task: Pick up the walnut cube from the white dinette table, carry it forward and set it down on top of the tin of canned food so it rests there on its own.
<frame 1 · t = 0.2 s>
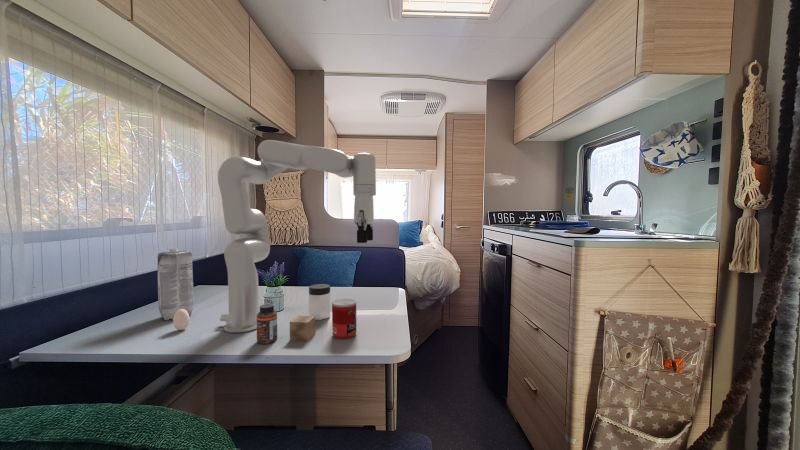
hand: (365, 241, 102), 31 cm above the table, tool pointing down, fingers open, 9 cm apart
supplement bottle: (267, 341, 95), on the table
egg: (181, 330, 105), on the table
walnut cube: (303, 337, 98), on the table
canned food: (344, 335, 99), on the table
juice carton: (176, 317, 119), on the table
jar: (319, 316, 118), on the table
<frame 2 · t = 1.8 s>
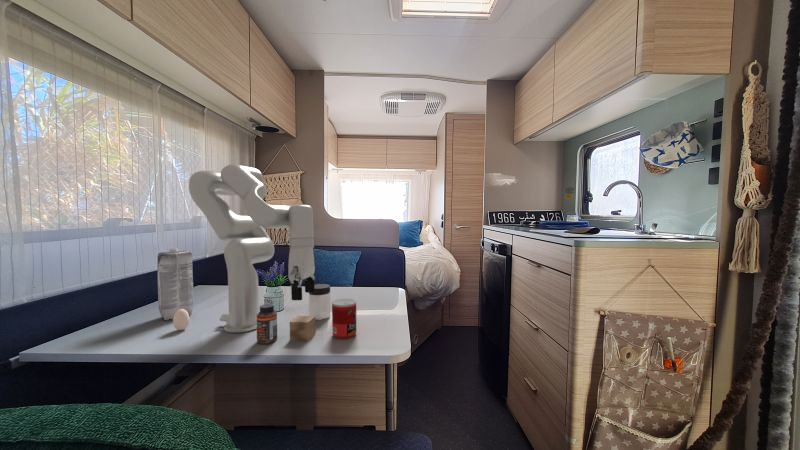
hand: (303, 295, 97), 13 cm above the table, tool pointing down, fingers open, 9 cm apart
nothing on the table moved.
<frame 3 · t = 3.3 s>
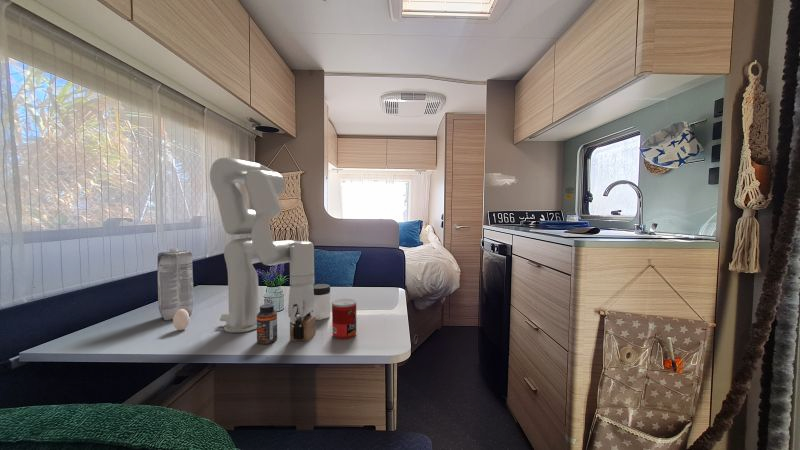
hand: (303, 334, 98), 1 cm above the table, tool pointing down, fingers closed on walnut cube, 6 cm apart
walnut cube: (303, 337, 98), on the table, touching gripper
everything else where it was.
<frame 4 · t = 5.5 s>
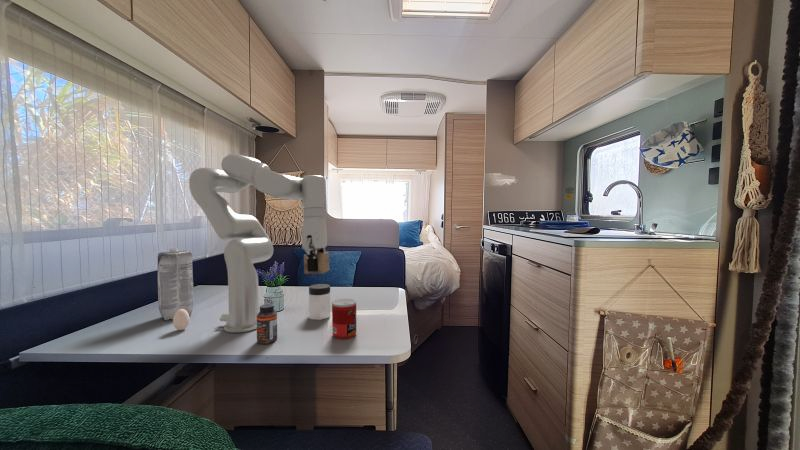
hand: (317, 268, 97), 22 cm above the table, tool pointing down, fingers closed on walnut cube, 6 cm apart
walnut cube: (317, 271, 97), point 21 cm above the table, touching gripper
everything else where it was.
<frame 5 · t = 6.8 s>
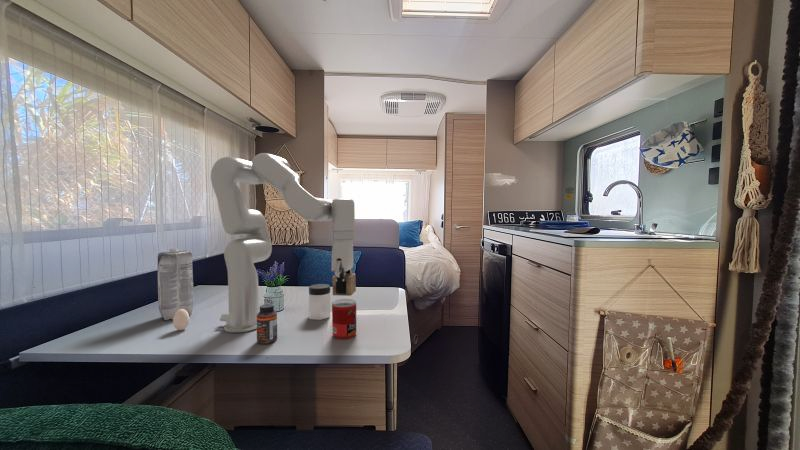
hand: (344, 290, 99), 15 cm above the table, tool pointing down, fingers closed on walnut cube, 6 cm apart
walnut cube: (344, 293, 99), point 14 cm above the table, touching gripper
everything else where it was.
when the fingers open (13 cm above the table, at t = 7.7 s): walnut cube stays where it is, resting on canned food.
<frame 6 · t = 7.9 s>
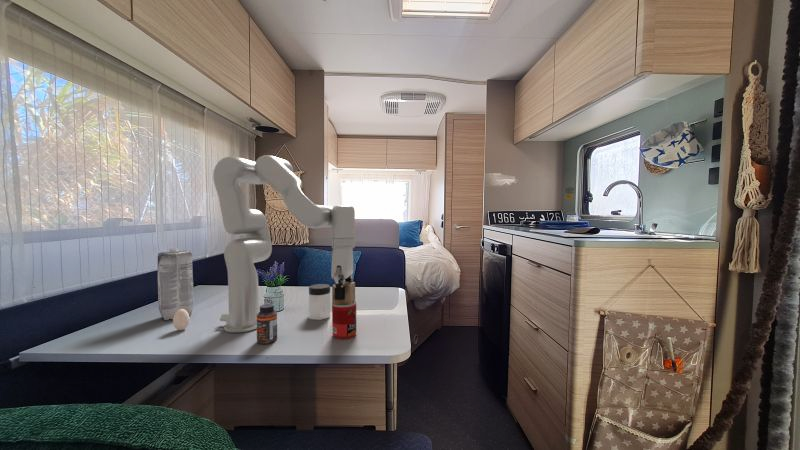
hand: (344, 295, 99), 13 cm above the table, tool pointing down, fingers open, 8 cm apart
walnut cube: (344, 301, 99), point 11 cm above the table, touching canned food
canned food: (344, 335, 99), on the table, touching walnut cube
everything else where it was.
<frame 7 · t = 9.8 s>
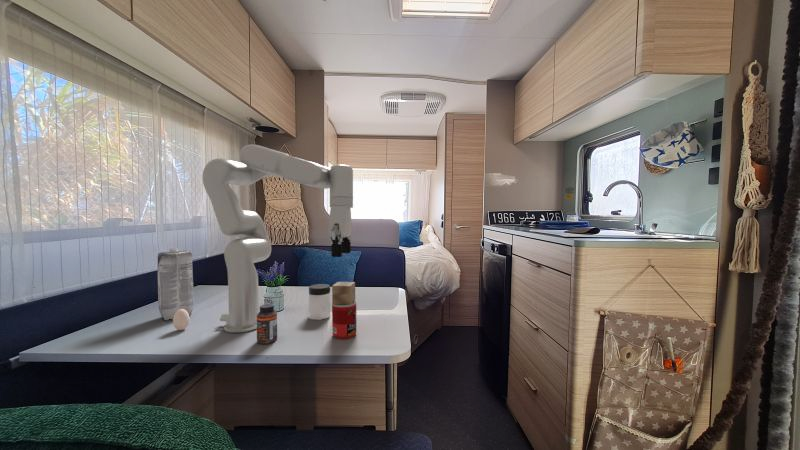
hand: (341, 254, 99), 26 cm above the table, tool pointing down, fingers open, 9 cm apart
nothing on the table moved.
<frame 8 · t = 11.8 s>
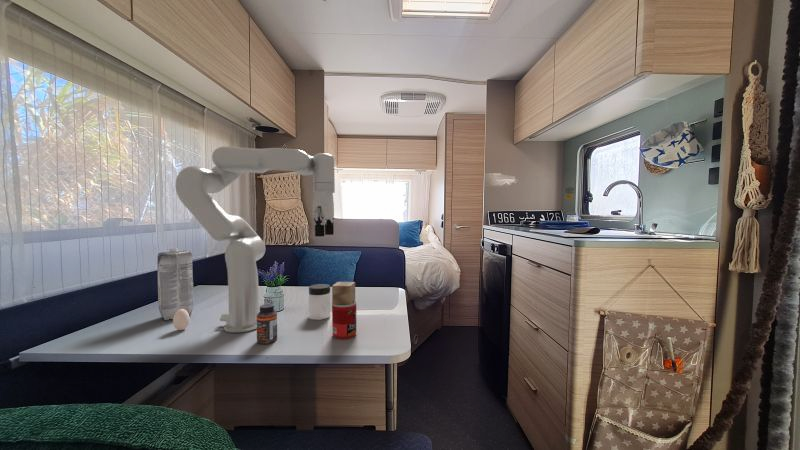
hand: (324, 235, 109), 32 cm above the table, tool pointing down, fingers open, 9 cm apart
nothing on the table moved.
at the end: walnut cube inside the target area on the canned food (0.0 cm from its centre), point 11.2 cm above the canned food's base; walnut cube tilted 0°; the gripper is holding nothing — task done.
